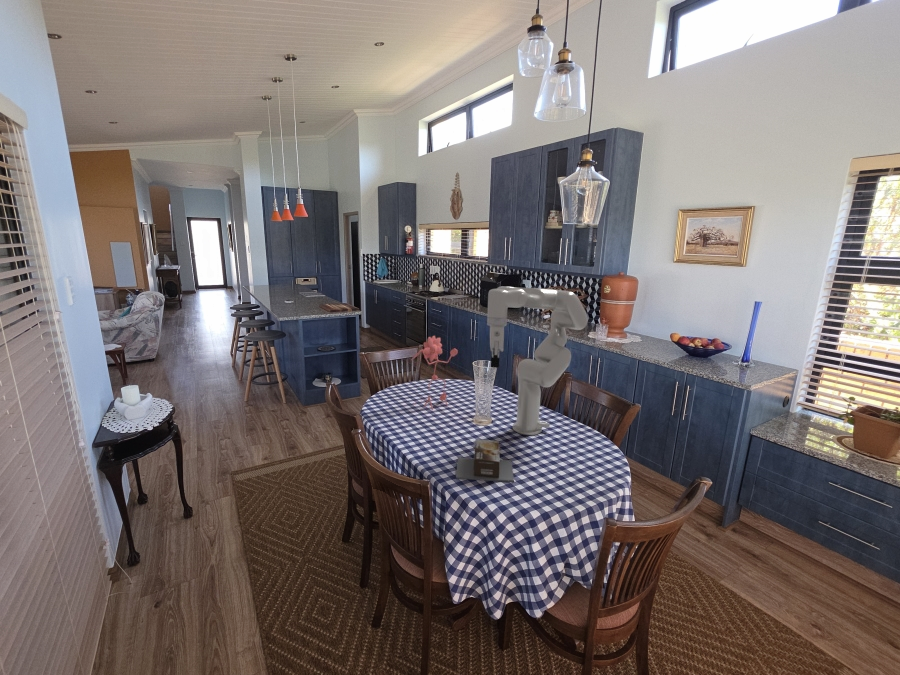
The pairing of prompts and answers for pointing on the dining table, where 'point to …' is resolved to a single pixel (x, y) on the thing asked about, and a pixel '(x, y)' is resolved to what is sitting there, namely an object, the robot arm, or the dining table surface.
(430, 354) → the pink stick figure toy
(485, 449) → the coffee box
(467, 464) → the mat
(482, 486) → the dining table surface
